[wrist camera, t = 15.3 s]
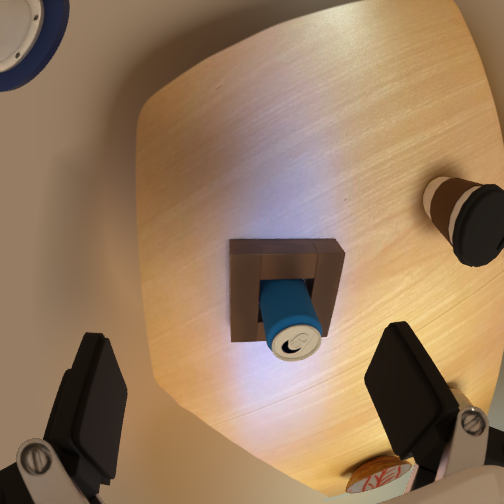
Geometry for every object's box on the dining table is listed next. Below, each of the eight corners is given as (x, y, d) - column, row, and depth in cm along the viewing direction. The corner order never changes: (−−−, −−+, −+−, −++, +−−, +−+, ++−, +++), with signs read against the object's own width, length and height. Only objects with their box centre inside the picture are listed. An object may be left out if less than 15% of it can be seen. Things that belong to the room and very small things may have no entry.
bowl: (327, 473, 85) (332, 492, 78) (390, 441, 78) (398, 461, 71) (359, 478, 95) (364, 494, 88) (413, 450, 88) (420, 466, 81)
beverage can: (247, 287, 43) (255, 349, 33) (279, 255, 41) (298, 313, 31) (279, 309, 46) (295, 370, 35) (311, 280, 44) (336, 338, 33)
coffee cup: (472, 185, 39) (525, 215, 28) (438, 241, 43) (483, 281, 32) (434, 146, 36) (492, 170, 25) (396, 210, 40) (444, 250, 29)
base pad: (230, 323, 46) (231, 342, 43) (229, 239, 40) (230, 254, 36) (320, 319, 48) (327, 336, 44) (335, 238, 41) (345, 252, 37)
